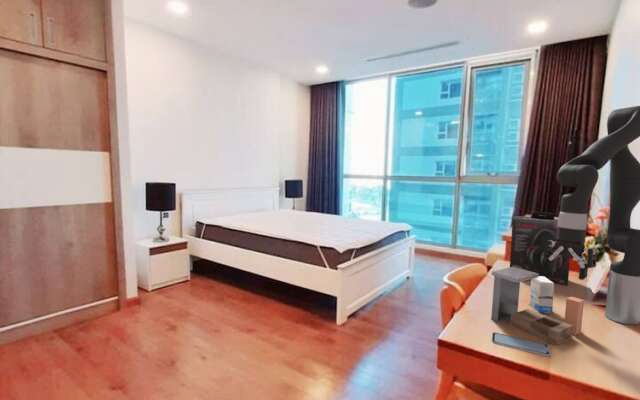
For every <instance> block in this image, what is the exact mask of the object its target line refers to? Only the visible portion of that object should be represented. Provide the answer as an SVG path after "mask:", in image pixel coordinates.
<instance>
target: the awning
mask: <svg viewBox="0 0 640 400" xmlns="http://www.w3.org/2000/svg"><path fill="white" fill-rule="evenodd" d="M491 276H494V278H493V291H492V304H491V317H490V320H492V321H495V322H497V323H499V322H501V321H504V320H507V319H511V314H514V313H517V312H519V311H518V310H519V301H520V299H519V298H520V289H521V282H525V281H529V280H530V281H531V279H533V278H537V277H539V274H538V273H534V272H531V271H527V270H523V269H520V268H516V267H510V266H509V267H507V268H502V269H501V268H500V269H497V270H492V271H491Z"/></svg>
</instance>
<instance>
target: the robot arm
mask: <svg viewBox="0 0 640 400" xmlns="http://www.w3.org/2000/svg"><path fill="white" fill-rule="evenodd" d="M606 122H607V123H606V130H607V135H606V136H603V137H602V138H599V139H598V140H596V141H594V142H593V143H592V144H590V146H588V148H586V150H584V152H582V154H581V155H578V156H576V157H574V158H572V159H571V160H569V161H568V162H566V163H565V164H563V165H562V166H561V167H560V168H559V169H558V171H557V173H556V180H557V182H558V183H559V184H560V185H561V186H565V187H575V188H576V187H577V188H576V189H575V190H574V192H572V193H566V194H563V195H562V196H561V198H560V207H559V209H560V210H559V214H558V218H557V219H558V227H557V237H556V238H557V241H556V242H554V241H553V240H548V241H546V243H545V249H544V257H545V258H548V259H549V260H550V262H549V270H550V271H551V272H556V267H557V261H556V260H557V259H558V258H559V257H560V256H563V257H569V258H570V259H574V260H575V262H577V263H578V265H579V272H578V280H581V281H583V280H585V279H587V277H588V271H589V269H591V268H596V266H597V248H595V247H591V248H589V247H586V246H585V243H586V237H587V229H588V208H589V201H590V200H591V196H592V194H593V192H594V189H595V187H596V185H597V183H598V180H599V172H598V171H599V170H601V169H602V168H603V167H604V166H605V165H607V163H608V162H609V165H610V166H609V194H610V195H609V197H610V198H609V199H610V200H609V217H608V218H609V219H608V224H607V225H608V226H607V232H606V241H607V245H608V246H609V248H610V249H612V250H613V251H616V252H619V253H622V254H624V255H623V259H622V260H620V261H612V262H611V263H610V265H609V275H608V282H607V284H608V285H607V292H606V301H605V302H606V304H605V309H604V310H605V311H604V316H605V317H606V318H608V319H609V320H612V321H615V322H618V323H621V324H625V325H632V326H633V325H639V324H640V229H637V228H633V227H631V216H632V212H633V210H634V209H635V207H636V206H637V205H638V204H639V202H640V162H639V160H638V159H637V158H636V157H635V155H633V153H632V152H631V150H630V148H629V144H631V143H632V142H634V141H636V140H637V139H638V138H640V105H635V106H630V107H624V108H623V107H622V108H617V109H613V110H612V111H611V112H609V114H608V116H607V121H606ZM554 246H555V247H556V248H557V250H556V251H555V252H554V253H553V255H552V249H553V247H554ZM584 253H585V254H586V255H587V260H586V257H585V256H584Z"/></svg>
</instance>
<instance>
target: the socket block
mask: <svg viewBox="0 0 640 400" xmlns="http://www.w3.org/2000/svg"><path fill="white" fill-rule="evenodd" d="M509 322H510V323H509V326H510V327H512V328H514V329H516V330H519V331H522V332H523V333H526V334H529V335H531V336H533V337H535V338H538V339H539V340H540V339H541V340H542V341H545V342H547V343H549V344H552V345H555V346H557V345H559V344H561V343H562V342H563V343H564V342H566V341H567V340H569V339H571V338H573V334H572V330H573V325H570V324H568V323H565V322H564V321H562V320H558V319H556V318H553V317H551V316H548V315H545V314H543V313H541V312H538V311H535V310H531V309H528V308H526V309H522V310H520V311H518V312H517V313H514V314H511V317H510V321H509Z"/></svg>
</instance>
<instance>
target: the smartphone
mask: <svg viewBox="0 0 640 400" xmlns="http://www.w3.org/2000/svg"><path fill="white" fill-rule="evenodd" d="M492 342H493V344H494V345H495V344H496V345H498V344H499V346H503V345H504V347H507V346H509V347H508V348H511V347H512V348H511V349H515V348H516V349H515V350H519V349H520V351H523V352H528V353H532V354H536V355H540V356H544V357H550V356H551V352H550V347H549V345H548V344H547V343H545V342H540V341H537V340H531V339H527V338H523V337H517V336H512V335H509V334H504V333H499V332H492V334H491V343H492Z"/></svg>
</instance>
